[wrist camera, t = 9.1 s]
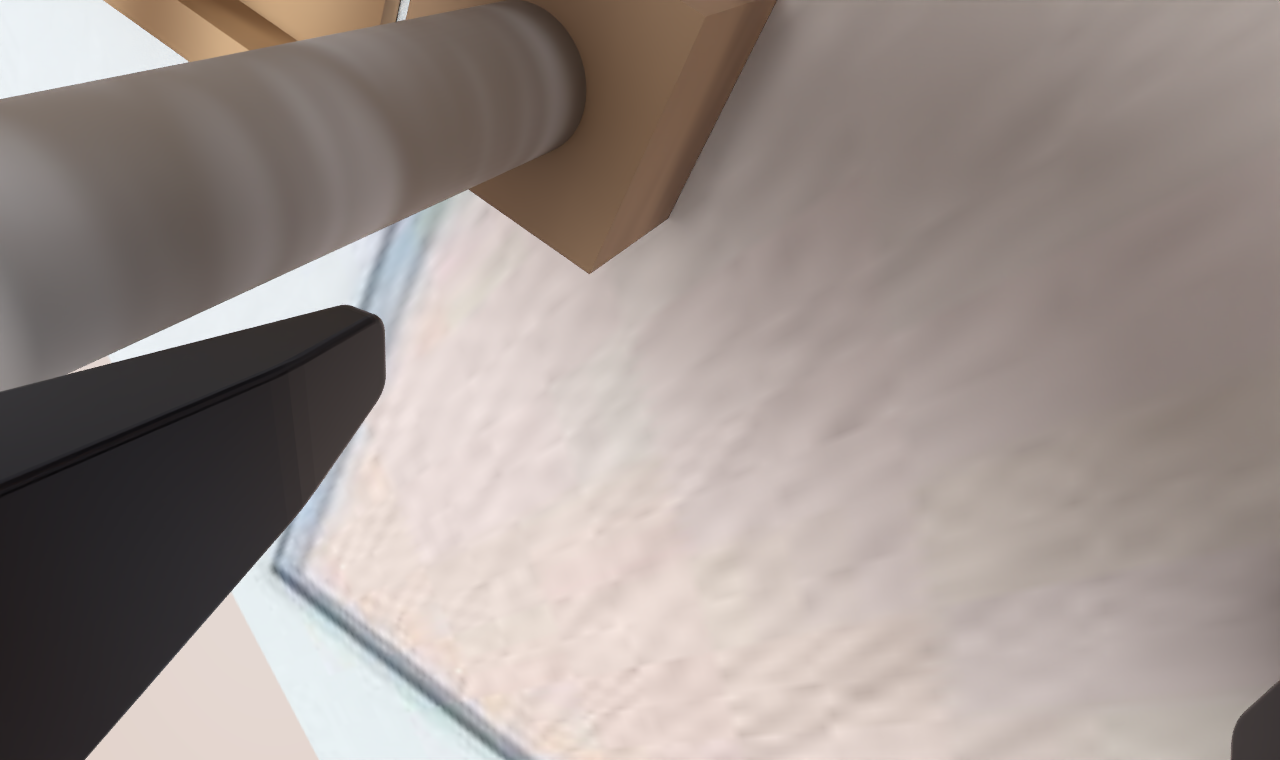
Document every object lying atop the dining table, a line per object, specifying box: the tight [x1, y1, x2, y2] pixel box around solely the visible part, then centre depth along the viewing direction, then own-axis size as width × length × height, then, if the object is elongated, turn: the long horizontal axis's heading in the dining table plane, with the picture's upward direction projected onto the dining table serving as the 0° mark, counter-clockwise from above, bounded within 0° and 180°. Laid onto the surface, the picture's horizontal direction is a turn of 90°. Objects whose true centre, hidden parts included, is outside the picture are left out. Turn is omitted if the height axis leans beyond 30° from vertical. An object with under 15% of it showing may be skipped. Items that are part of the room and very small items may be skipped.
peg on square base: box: [0, 0, 777, 391], centre depth 15 cm, size 6×6×15 cm
